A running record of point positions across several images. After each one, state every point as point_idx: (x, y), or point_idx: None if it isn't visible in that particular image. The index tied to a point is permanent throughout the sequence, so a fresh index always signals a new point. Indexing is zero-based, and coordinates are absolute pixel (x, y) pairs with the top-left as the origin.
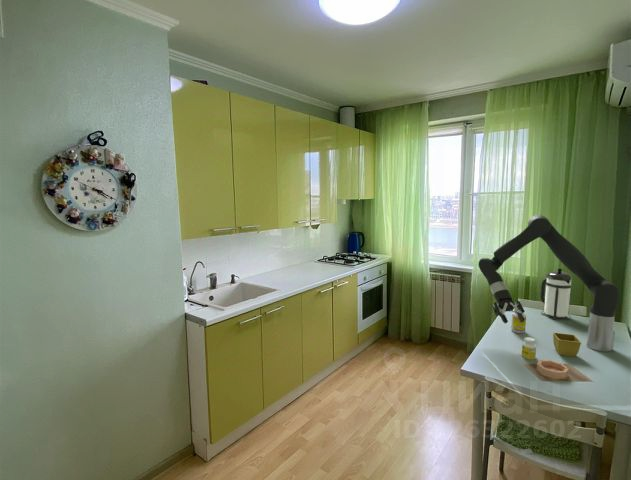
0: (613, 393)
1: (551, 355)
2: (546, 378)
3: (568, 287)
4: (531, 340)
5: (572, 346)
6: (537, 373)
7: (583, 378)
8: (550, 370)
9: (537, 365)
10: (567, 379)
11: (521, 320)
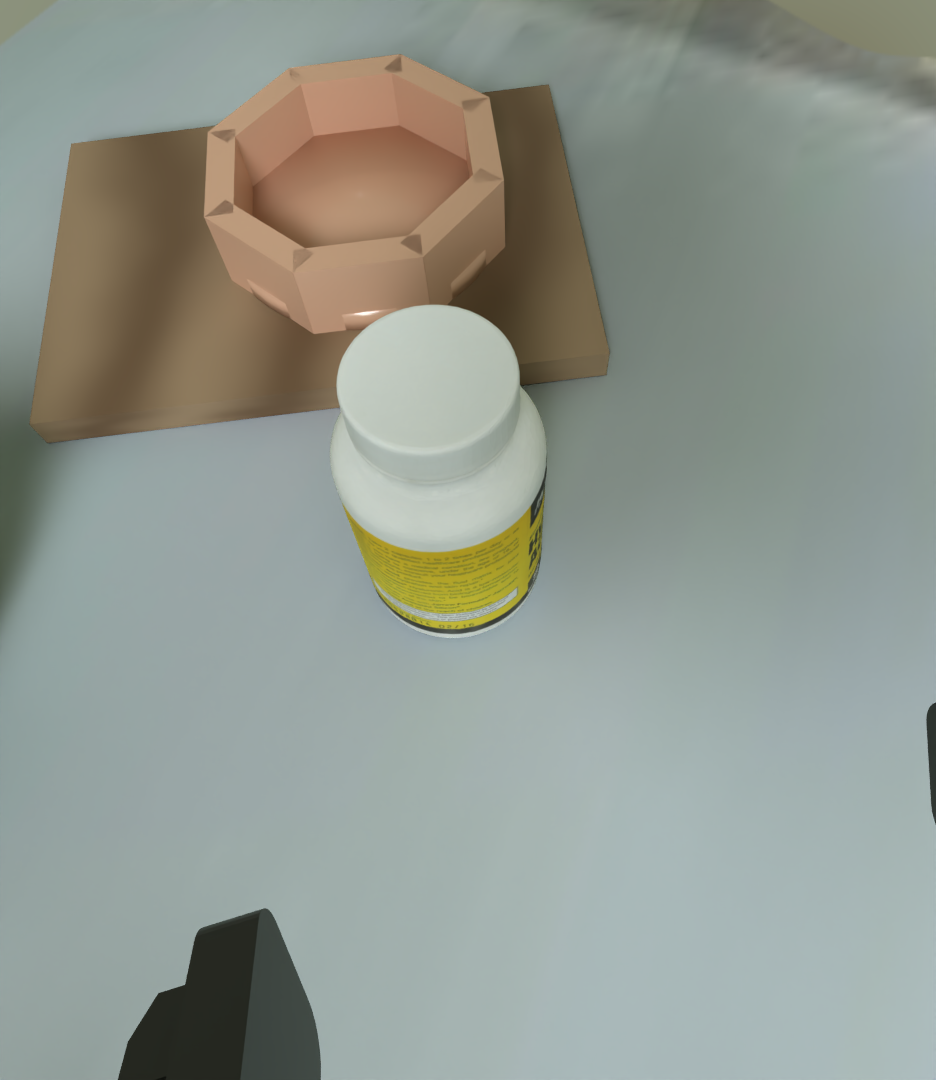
0: (31, 82)
1: (53, 723)
2: None
3: None
4: (422, 322)
5: None
6: (529, 186)
7: (121, 172)
8: (431, 74)
9: (503, 190)
10: None
11: (286, 1006)
